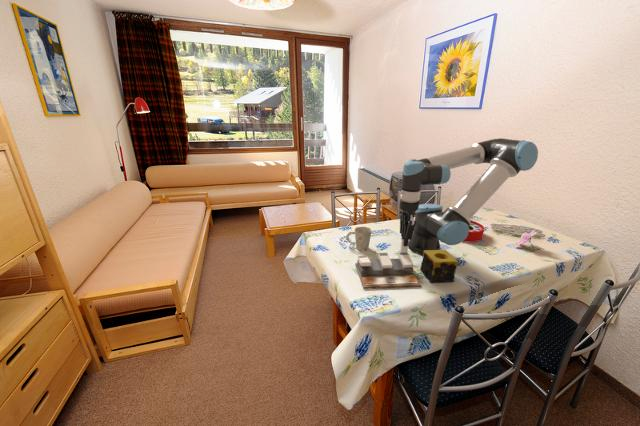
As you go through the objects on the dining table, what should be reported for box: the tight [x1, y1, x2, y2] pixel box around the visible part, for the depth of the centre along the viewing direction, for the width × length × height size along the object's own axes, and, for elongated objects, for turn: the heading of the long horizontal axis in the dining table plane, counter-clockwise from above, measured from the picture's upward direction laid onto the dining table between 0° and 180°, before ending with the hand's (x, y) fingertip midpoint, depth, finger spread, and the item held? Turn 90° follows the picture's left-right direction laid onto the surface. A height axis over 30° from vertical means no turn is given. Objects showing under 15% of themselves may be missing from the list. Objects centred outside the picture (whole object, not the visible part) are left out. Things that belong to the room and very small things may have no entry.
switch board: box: [354, 258, 422, 290], centre depth 116 cm, size 23×18×4 cm
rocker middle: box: [377, 252, 392, 268], centre depth 118 cm, size 4×8×2 cm, turn 3°
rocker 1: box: [357, 255, 371, 266], centre depth 117 cm, size 4×8×2 cm, turn 3°
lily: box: [514, 229, 538, 249], centre depth 139 cm, size 12×12×10 cm
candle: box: [419, 249, 459, 284], centre depth 114 cm, size 10×10×10 cm
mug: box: [345, 226, 373, 252], centre depth 139 cm, size 8×13×10 cm, turn 78°
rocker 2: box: [397, 251, 415, 268], centre depth 118 cm, size 4×8×2 cm, turn 3°
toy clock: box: [463, 219, 485, 243], centre depth 155 cm, size 20×6×20 cm
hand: (403, 251), depth 120 cm, fingers closed
